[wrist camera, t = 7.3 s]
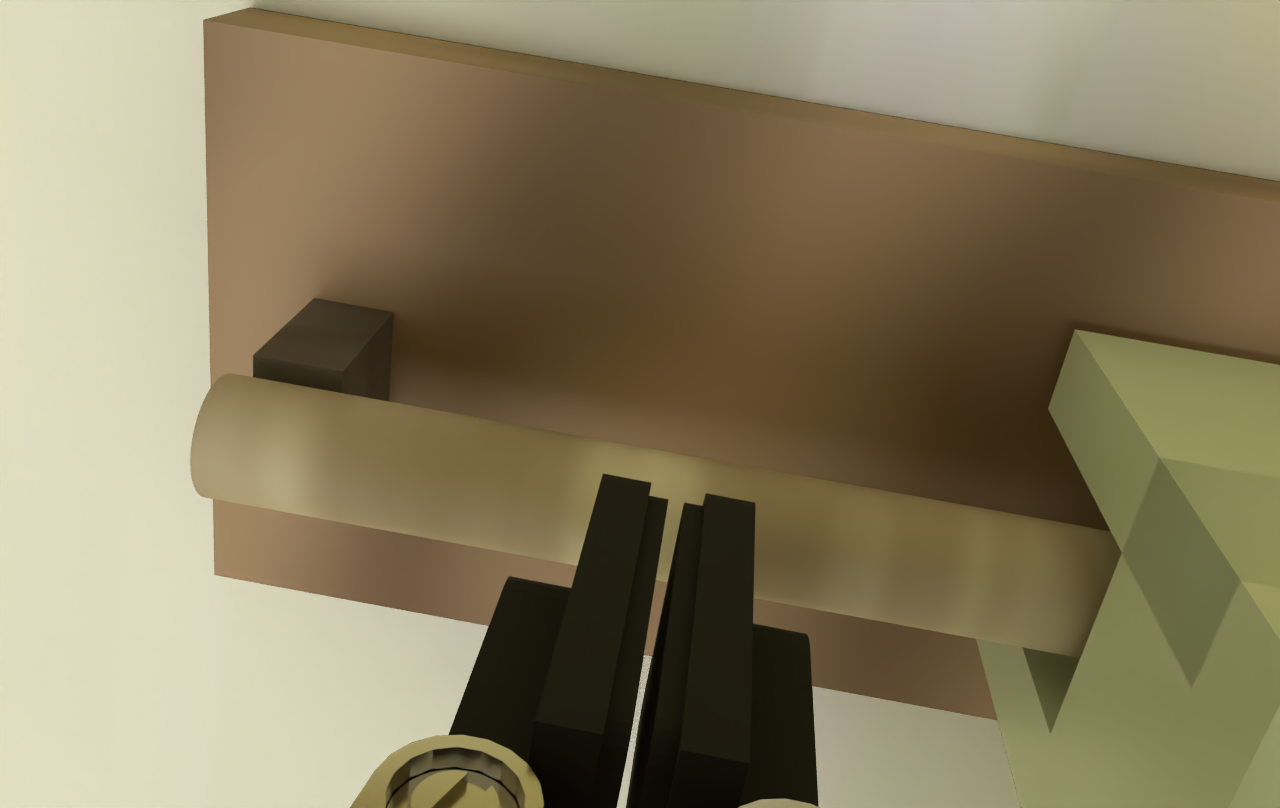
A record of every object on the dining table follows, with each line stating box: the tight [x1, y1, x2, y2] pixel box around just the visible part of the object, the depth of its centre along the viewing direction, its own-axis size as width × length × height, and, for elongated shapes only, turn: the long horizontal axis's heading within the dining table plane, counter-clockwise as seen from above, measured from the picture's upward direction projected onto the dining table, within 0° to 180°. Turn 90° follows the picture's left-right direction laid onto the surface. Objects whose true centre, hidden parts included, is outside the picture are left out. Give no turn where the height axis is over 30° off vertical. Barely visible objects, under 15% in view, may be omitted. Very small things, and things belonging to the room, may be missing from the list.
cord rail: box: [191, 8, 1280, 720], centre depth 15 cm, size 24×9×7 cm, turn 82°
